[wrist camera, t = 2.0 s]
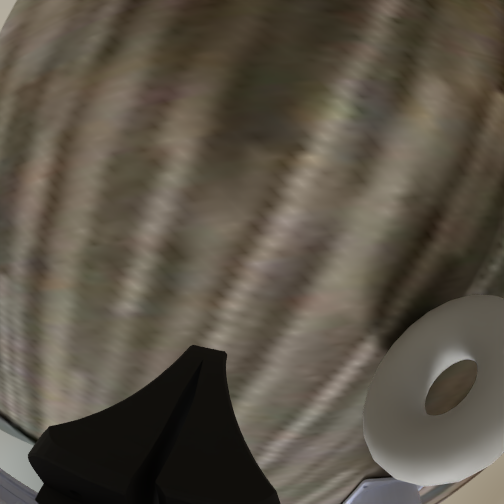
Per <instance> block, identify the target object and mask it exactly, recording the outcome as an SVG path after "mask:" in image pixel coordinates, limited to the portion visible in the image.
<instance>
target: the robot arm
mask: <svg viewBox="0 0 504 504" xmlns="http://www.w3.org/2000/svg"><path fill="white" fill-rule="evenodd" d="M226 360H227V354H226V353H225V352H224V351H219V350H214V349H210V348H205V347H200V346H196V345H192V346H190V347H189V348H188V349H187V350H186V351H185V352H184V353H183V354H182V355H181V356H180V357H179V358H178V359H177V360H176V361H175V362H174V363H173V364H172V365H171V366H170V367H169V368H168V369H167V370H165V371H164V372H163V373H162V374H161V375H160V376H158V377H157V378H156V379H154V380H153V381H152V382H150V383H149V384H148V385H147V386H145V387H144V388H142V389H141V390H139V391H138V392H136V393H135V394H133V395H132V396H130V397H128V398H127V399H125V400H123V401H121V402H119V403H117V404H115V405H113V406H111V407H109V408H107V409H105V410H103V411H100V412H98V413H95V414H92V415H90V416H87V417H84V418H82V419H78V420H75V421H71V422H67V423H63V424H59V425H54V426H49V427H48V429H47V430H46V431H45V432H44V433H43V434H42V435H41V437H40V438H39V439H38V441H37V442H36V444H35V445H34V446H33V448H32V450H31V451H30V452H29V454H28V459H29V462H30V464H31V466H32V467H33V469H34V470H35V472H36V473H37V474H38V476H39V477H40V479H41V480H42V481H43V483H44V484H43V486H42V488H41V489H40V491H39V493H37V492H35V491H34V490H32V489H30V488H29V487H27V486H26V485H24V484H23V483H21V482H20V481H18V480H16V479H15V478H13V477H12V476H11V475H9V474H8V473H6V472H5V471H3V470H2V469H1V468H0V504H280V501H279V498H278V495H277V492H276V490H275V489H274V488H273V486H272V485H271V484H270V482H269V481H268V479H267V478H266V477H265V475H264V474H263V472H262V471H261V469H260V468H259V466H258V464H257V463H256V461H255V459H254V457H253V456H252V454H251V452H250V450H249V448H248V446H247V444H246V442H245V440H244V438H243V435H242V433H241V431H240V428H239V426H238V423H237V420H236V417H235V414H234V411H233V407H232V404H231V400H230V395H229V390H228V384H227V377H226ZM422 487H423V486H420V485H416V484H412V483H408V482H404V481H401V480H397V479H395V478H394V477H392V478H377V479H366V480H364V481H362V483H361V484H360V485H359V486H358V487H357V488H356V489H355V491H354V492H353V493H352V494H351V495H350V496H349V497H348V498H347V499H346V500H345V501H344V503H343V504H422V503H421V499H420V495H419V490H420V489H421V488H422Z"/></svg>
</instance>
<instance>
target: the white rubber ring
mask: <svg viewBox="0 0 504 504" xmlns="http://www.w3.org/2000/svg"><path fill="white" fill-rule="evenodd" d="M467 359H470V360H473V361H475V362H476V364H477V377H476V380H475V383H474V385H473V386H472V388H471V390H470V392H469V393H468V395H467V396H466V397H465V398H464V399H463V400H462V401H461V402H460V403H459V404H458V405H457V406H456V407H454V408H453V409H451V410H449V411H448V412H446V413H444V414H440V415H429V414H427V413H426V410H425V399H426V396H427V394H428V391H429V388H430V387H431V385H432V384H433V382H434V381H435V379H436V378H437V377H438V376H439V375H440V374H441V373H442V372H443V371H444V370H445V369H446V368H448V367H449V366H451V365H452V364H454V363H456V362H459V361H461V360H467ZM363 430H364V437H365V441H366V443H367V445H368V448H369V450H370V452H371V455H372V457H373V460H374V461H375V462H377V463H378V464H379V465H380V466H381V467H382V468H383V469H384V470H386V471H387V472H388V473H389V474H390V475H391V476H392V477H394V478H395V479H397V480H401V481H404V482H408V483H412V484H416V485H420V486H434V485H441V484H447V483H454V482H459V481H461V480H463V479H465V478H467V477H469V476H471V475H473V474H475V473H477V472H478V471H480V470H482V469H484V468H486V467H488V466H489V465H491V464H492V463H493V462H494V461H496V460H497V459H498V458H499V457H500V456H501V455H502V454H503V453H504V299H503V298H501V297H498V296H494V295H479V294H473V295H469V296H465V297H461V298H457V299H453V300H450V301H448V302H446V303H444V304H442V305H440V306H438V307H436V308H434V309H433V310H431V311H429V312H427V313H426V314H425V315H424V316H422V317H421V318H420V319H418V320H417V321H416V322H415V323H413V324H412V325H411V326H409V328H408V329H407V330H406V331H405V332H404V333H403V334H402V335H401V336H400V337H399V338H398V339H397V340H396V341H395V342H394V344H393V345H392V346H391V348H390V349H389V351H388V352H387V354H386V355H385V357H384V358H383V359H382V361H381V362H380V364H379V366H378V368H377V370H376V372H375V375H374V377H373V379H372V381H371V383H370V385H369V388H368V393H367V397H366V401H365V405H364V409H363Z"/></svg>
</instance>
